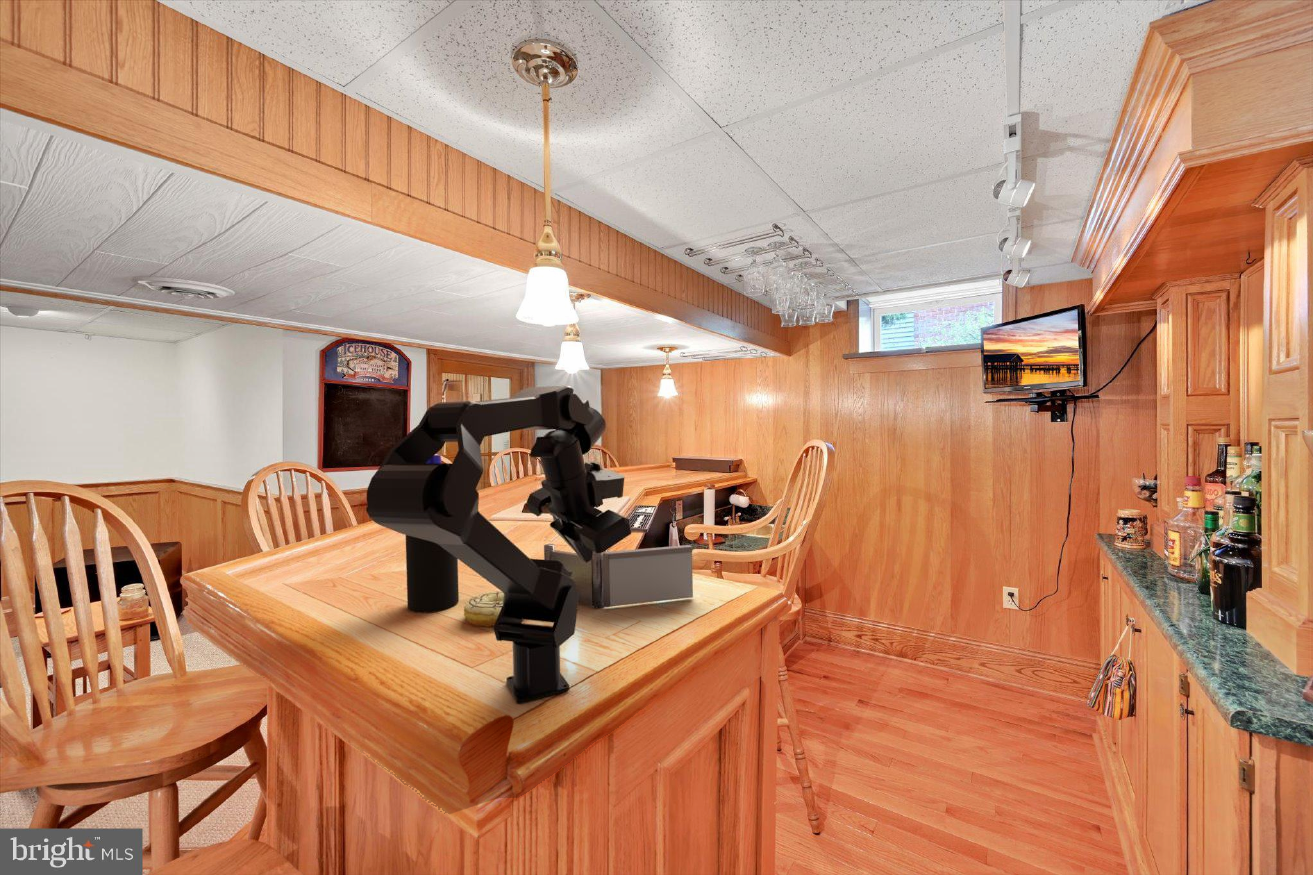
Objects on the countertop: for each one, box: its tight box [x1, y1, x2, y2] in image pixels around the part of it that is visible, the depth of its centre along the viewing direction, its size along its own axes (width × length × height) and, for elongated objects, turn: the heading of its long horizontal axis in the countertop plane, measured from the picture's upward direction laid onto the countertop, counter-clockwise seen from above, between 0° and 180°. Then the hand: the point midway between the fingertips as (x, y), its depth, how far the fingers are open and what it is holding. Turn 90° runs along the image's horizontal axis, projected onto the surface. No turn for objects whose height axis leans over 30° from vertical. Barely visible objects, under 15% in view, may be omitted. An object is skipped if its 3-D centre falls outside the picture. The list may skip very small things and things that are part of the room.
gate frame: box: [543, 543, 605, 610], centre depth 97 cm, size 14×2×10 cm, turn 57°
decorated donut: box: [463, 591, 504, 628], centre depth 90 cm, size 10×11×4 cm
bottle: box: [405, 454, 460, 613], centre depth 97 cm, size 9×9×28 cm
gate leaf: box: [602, 544, 694, 608], centre depth 95 cm, size 17×2×10 cm, turn 106°
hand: (587, 560), depth 80 cm, fingers closed
